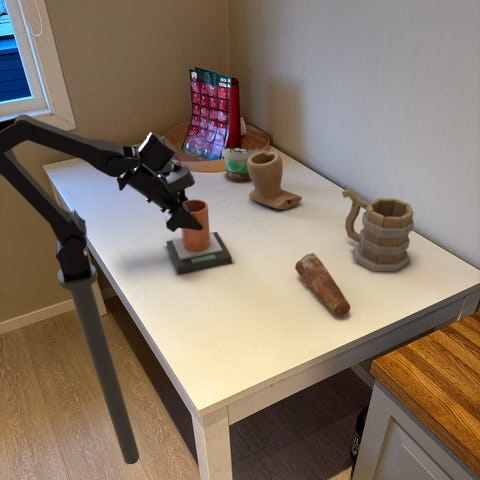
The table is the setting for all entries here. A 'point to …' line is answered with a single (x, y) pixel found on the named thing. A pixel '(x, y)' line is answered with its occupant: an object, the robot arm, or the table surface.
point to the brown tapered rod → (322, 284)
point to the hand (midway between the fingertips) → (200, 221)
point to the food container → (237, 163)
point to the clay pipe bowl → (269, 181)
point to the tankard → (380, 232)
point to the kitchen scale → (198, 255)
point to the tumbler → (197, 238)
